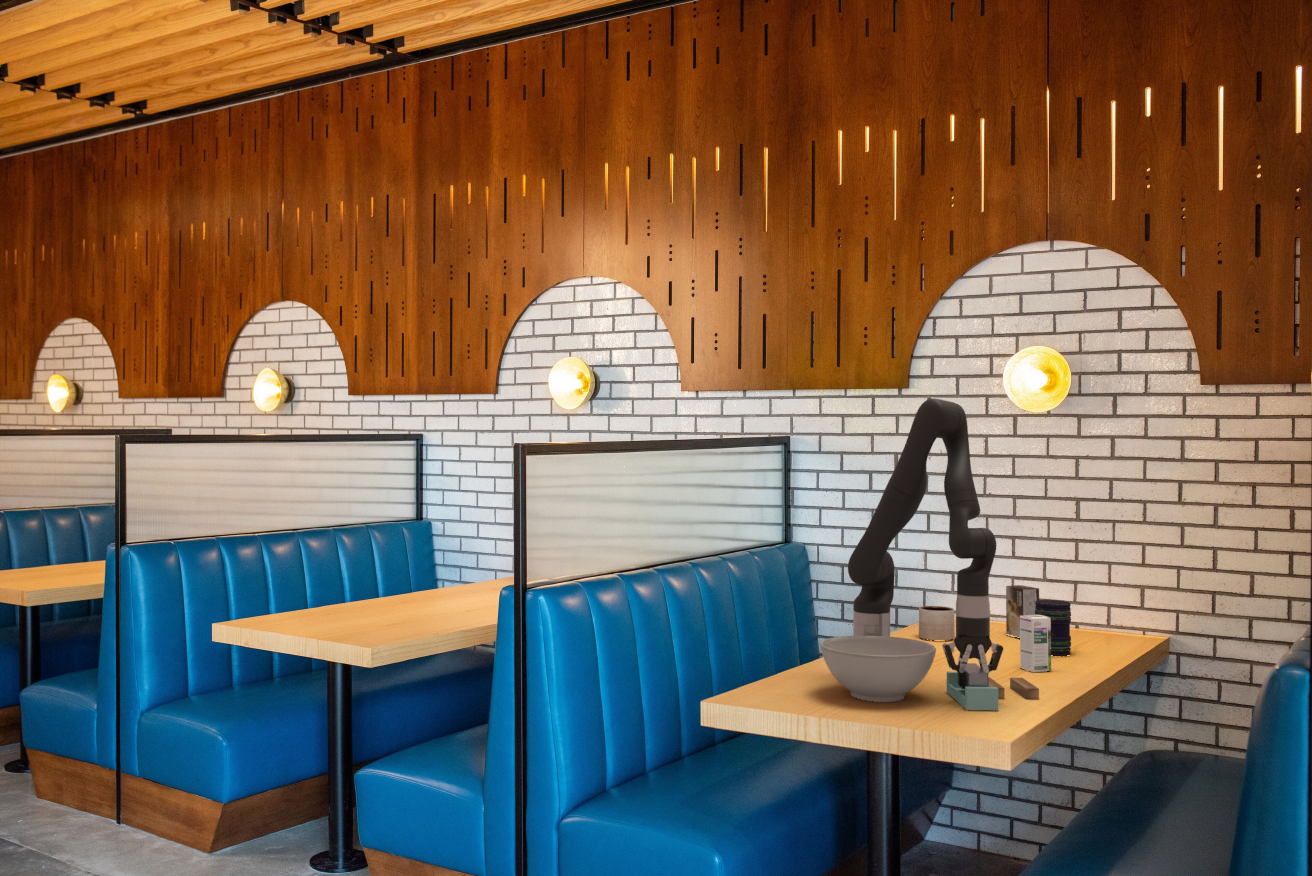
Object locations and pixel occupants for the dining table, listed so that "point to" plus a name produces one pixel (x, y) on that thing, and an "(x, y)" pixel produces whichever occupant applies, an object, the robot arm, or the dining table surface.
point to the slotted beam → (1017, 688)
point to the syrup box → (1035, 643)
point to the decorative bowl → (878, 665)
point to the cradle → (972, 695)
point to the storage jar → (1057, 624)
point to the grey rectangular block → (975, 676)
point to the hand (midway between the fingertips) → (972, 688)
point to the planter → (936, 623)
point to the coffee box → (1019, 606)
